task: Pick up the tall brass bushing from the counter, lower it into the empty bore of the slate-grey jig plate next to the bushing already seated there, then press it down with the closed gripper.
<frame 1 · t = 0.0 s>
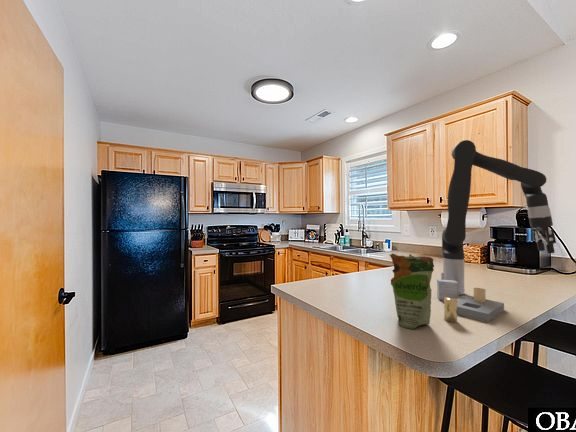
hand: (546, 251, 120), 22 cm above the worktop, tool pointing down, fingers open, 8 cm apart
pouch: (411, 325, 94), on the worktop
brass bushing: (450, 320, 98), on the worktop
jig plate: (475, 310, 108), on the worktop
medicine box: (447, 300, 122), on the worktop
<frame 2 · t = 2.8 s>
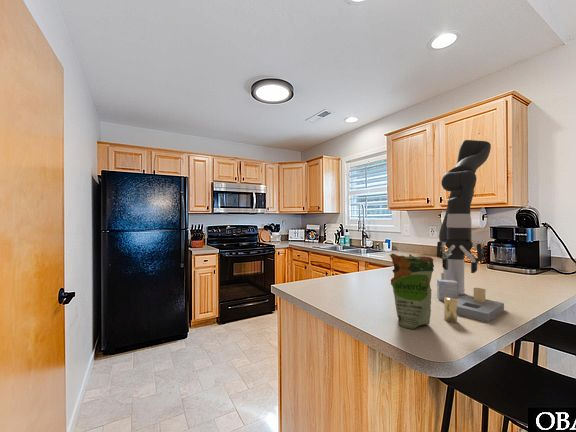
hand: (459, 271, 97), 18 cm above the worktop, tool pointing down, fingers open, 8 cm apart
nothing on the worktop moved.
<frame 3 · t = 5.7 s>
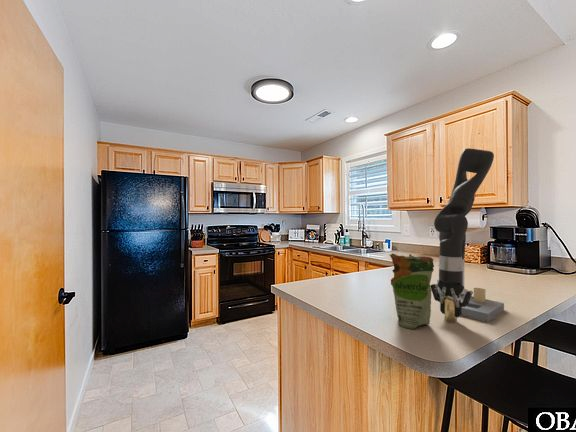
hand: (450, 314, 98), 2 cm above the worktop, tool pointing down, fingers closed on brass bushing, 4 cm apart
brass bushing: (450, 320, 98), on the worktop, touching gripper
everything else where it was.
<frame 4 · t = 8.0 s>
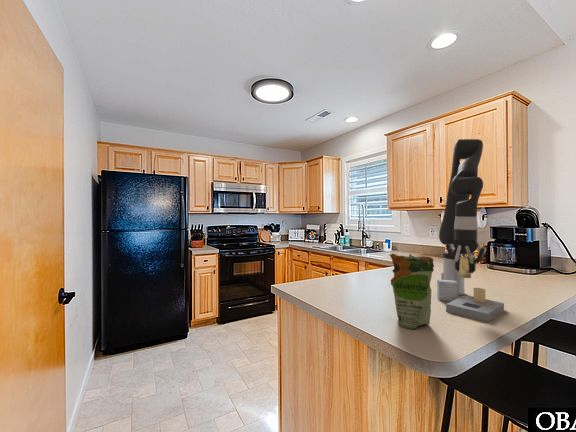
hand: (464, 271, 105), 17 cm above the worktop, tool pointing down, fingers closed on brass bushing, 4 cm apart
brass bushing: (464, 276, 105), point 14 cm above the worktop, touching gripper
everything else where it was.
when the fingers open (4 cm above the worktop, at t = 10.6 s): brass bushing drops 1 cm, resting in jig plate.
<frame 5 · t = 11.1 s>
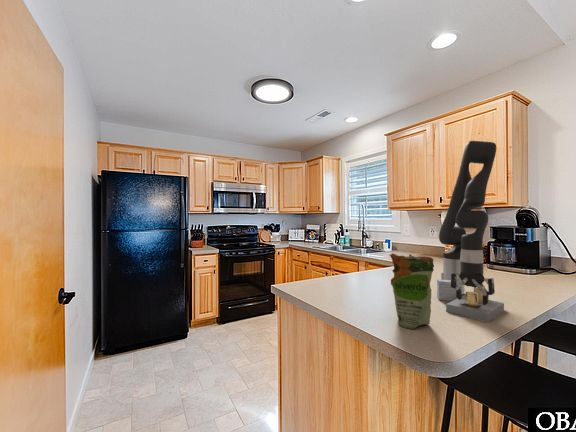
hand: (471, 301, 105), 4 cm above the worktop, tool pointing down, fingers open, 8 cm apart
brass bushing: (471, 313, 105), resting in jig plate
everything else where it was.
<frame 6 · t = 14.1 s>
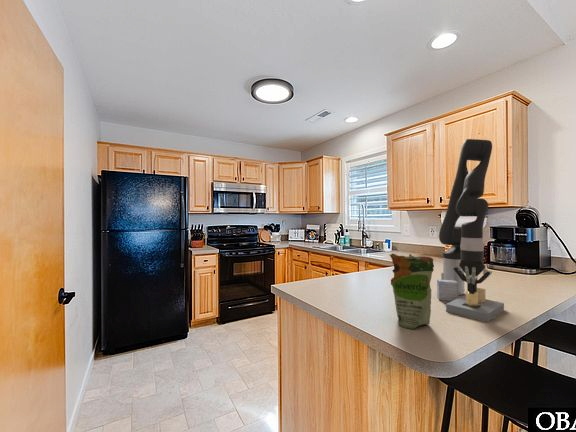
hand: (472, 292, 105), 8 cm above the worktop, tool pointing down, fingers closed
brass bushing: (471, 313, 105), resting in jig plate, touching gripper
everything else where it was.
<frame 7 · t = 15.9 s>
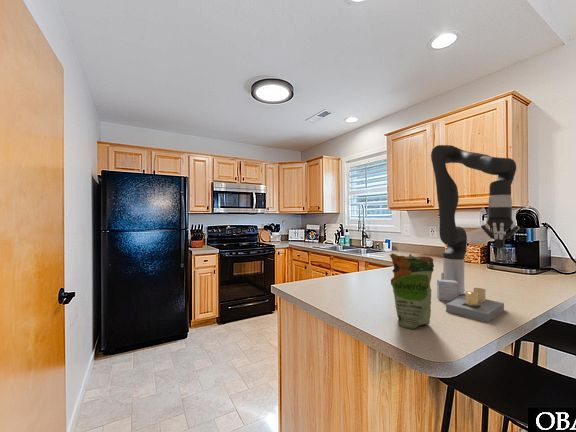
hand: (499, 248, 110), 25 cm above the worktop, tool pointing down, fingers closed
brass bushing: (471, 313, 105), resting in jig plate
everything else where it was.
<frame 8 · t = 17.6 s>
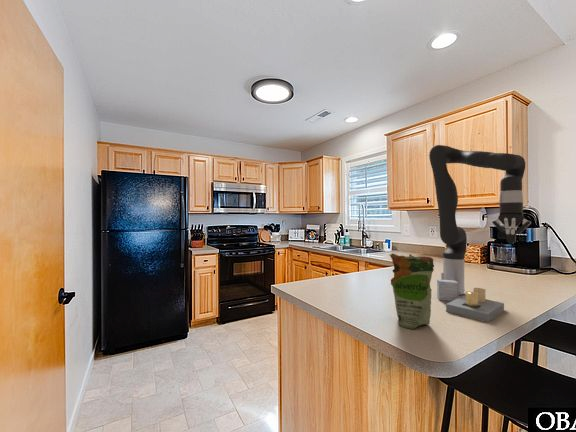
hand: (511, 243, 112), 27 cm above the worktop, tool pointing down, fingers closed
nothing on the worktop moved.
at the end: brass bushing 0.0 cm from the target spot on the jig plate, point 0.0 cm above the jig plate's base; brass bushing tilted 0°; the gripper is holding nothing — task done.
